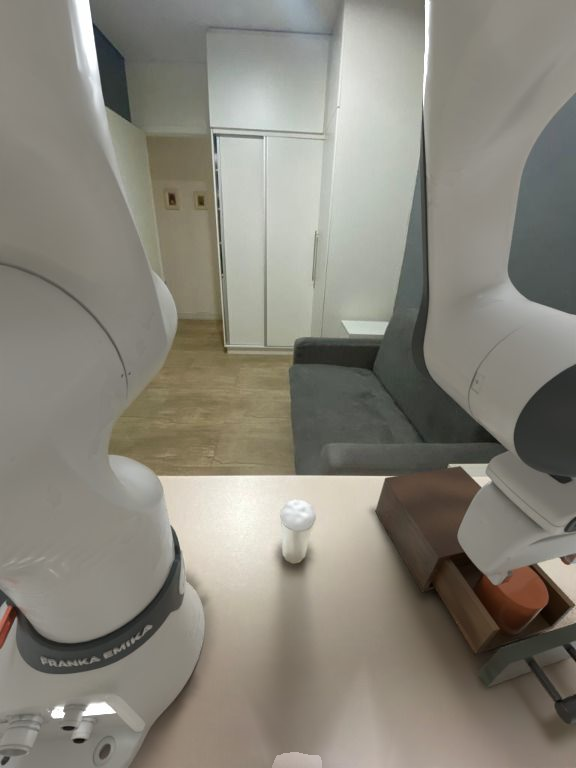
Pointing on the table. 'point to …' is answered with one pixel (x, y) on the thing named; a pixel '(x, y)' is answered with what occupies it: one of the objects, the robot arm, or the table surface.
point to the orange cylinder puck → (513, 599)
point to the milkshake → (296, 529)
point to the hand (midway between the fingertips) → (530, 566)
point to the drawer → (518, 657)
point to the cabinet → (426, 517)
